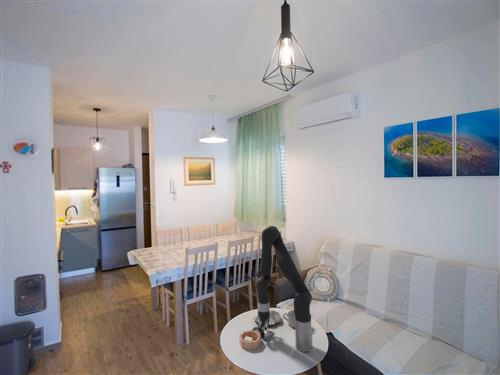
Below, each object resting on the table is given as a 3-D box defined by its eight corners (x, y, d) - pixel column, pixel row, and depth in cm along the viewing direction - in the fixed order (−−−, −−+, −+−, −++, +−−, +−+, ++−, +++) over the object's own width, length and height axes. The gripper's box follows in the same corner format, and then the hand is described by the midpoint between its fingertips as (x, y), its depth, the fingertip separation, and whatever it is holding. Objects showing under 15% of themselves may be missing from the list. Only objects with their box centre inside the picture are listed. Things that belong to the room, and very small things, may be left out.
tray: (273, 333, 170) (273, 331, 170) (268, 341, 162) (268, 339, 162) (254, 328, 176) (254, 326, 176) (248, 335, 168) (248, 333, 168)
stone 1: (252, 343, 159) (252, 338, 158) (250, 347, 156) (250, 341, 156) (246, 341, 161) (246, 336, 161) (243, 345, 158) (243, 339, 158)
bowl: (263, 340, 162) (263, 333, 162) (254, 352, 152) (254, 344, 152) (246, 335, 168) (246, 328, 168) (236, 346, 157) (236, 339, 157)
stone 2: (268, 336, 166) (268, 330, 166) (266, 339, 163) (266, 333, 163) (262, 334, 168) (261, 328, 168) (259, 337, 165) (259, 331, 165)
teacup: (305, 324, 180) (305, 312, 180) (300, 332, 171) (299, 320, 171) (287, 318, 188) (287, 307, 187) (280, 326, 178) (280, 314, 178)
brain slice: (265, 332, 172) (265, 327, 172) (250, 320, 186) (250, 316, 186) (287, 322, 183) (287, 318, 183) (271, 312, 197) (271, 308, 197)
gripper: (264, 315, 157) (264, 343, 158) (273, 305, 170) (273, 331, 170) (253, 312, 161) (253, 340, 161) (262, 302, 173) (263, 328, 174)
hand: (263, 335), depth 166 cm, fingers closed on stone 2, 3 cm apart
